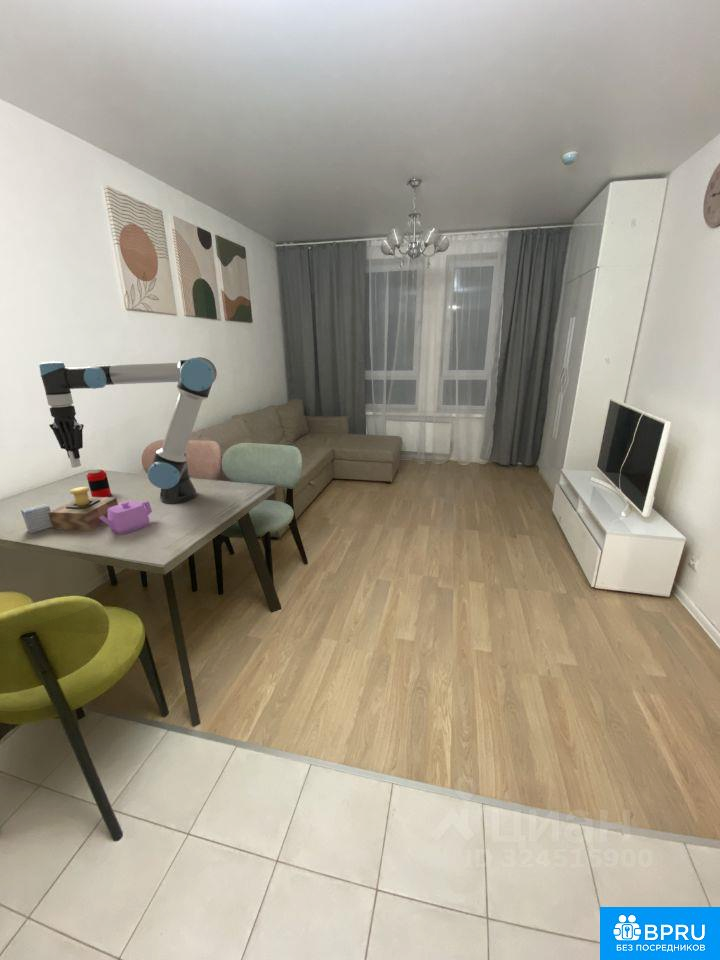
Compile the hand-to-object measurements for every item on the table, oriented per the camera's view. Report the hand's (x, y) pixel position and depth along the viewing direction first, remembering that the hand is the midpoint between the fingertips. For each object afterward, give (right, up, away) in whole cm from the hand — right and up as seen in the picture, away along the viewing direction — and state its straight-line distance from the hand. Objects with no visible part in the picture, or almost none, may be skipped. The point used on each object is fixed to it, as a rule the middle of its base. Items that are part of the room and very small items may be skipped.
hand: (76, 466), depth 155 cm
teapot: (+22, -24, -2) cm, 32 cm away
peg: (+2, -17, +2) cm, 17 cm away
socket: (+2, -22, +4) cm, 22 cm away
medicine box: (-12, -24, -2) cm, 27 cm away
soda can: (-10, -13, +30) cm, 34 cm away
